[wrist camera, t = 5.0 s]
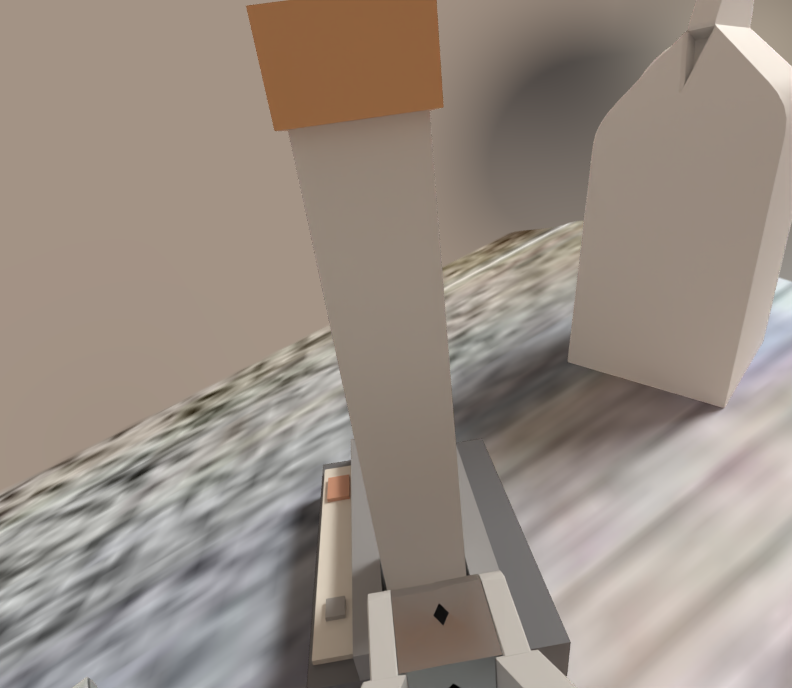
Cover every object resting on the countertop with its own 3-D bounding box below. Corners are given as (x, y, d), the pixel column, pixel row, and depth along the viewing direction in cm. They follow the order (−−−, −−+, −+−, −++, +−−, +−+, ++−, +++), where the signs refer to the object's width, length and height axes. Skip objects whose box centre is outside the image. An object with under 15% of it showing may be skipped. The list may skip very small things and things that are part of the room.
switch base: (319, 722, 17) (293, 660, 15) (330, 492, 28) (316, 439, 26) (567, 675, 17) (573, 609, 15) (483, 467, 28) (480, 412, 26)
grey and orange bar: (391, 645, 17) (245, 5, 8) (385, 566, 20) (275, 41, 11) (477, 629, 17) (434, -19, 8) (458, 553, 20) (410, 23, 11)
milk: (724, 408, 30) (859, -87, 18) (567, 362, 38) (591, -6, 26) (763, 341, 37) (879, -50, 25) (623, 314, 45) (662, 6, 33)
